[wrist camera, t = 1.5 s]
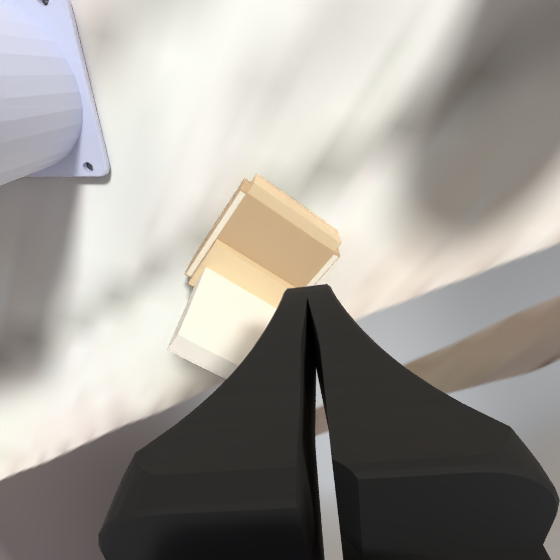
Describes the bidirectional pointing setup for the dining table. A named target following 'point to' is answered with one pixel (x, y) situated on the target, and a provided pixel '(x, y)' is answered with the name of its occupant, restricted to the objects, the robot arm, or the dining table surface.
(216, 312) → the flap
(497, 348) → the dining table surface
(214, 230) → the carton
